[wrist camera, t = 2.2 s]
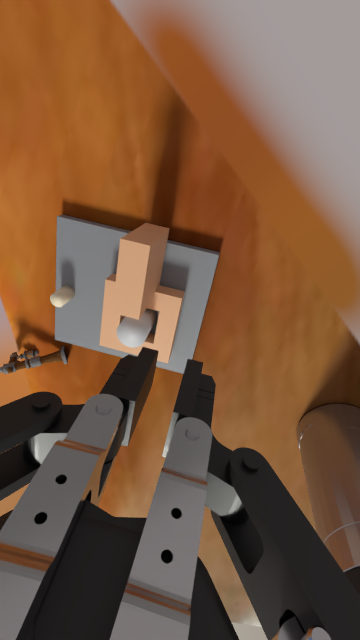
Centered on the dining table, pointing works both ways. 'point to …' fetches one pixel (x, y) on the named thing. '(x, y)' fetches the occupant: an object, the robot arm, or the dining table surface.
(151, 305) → the peach open lidded box
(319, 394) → the dining table surface
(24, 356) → the wooden post with brackets
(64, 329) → the post base
